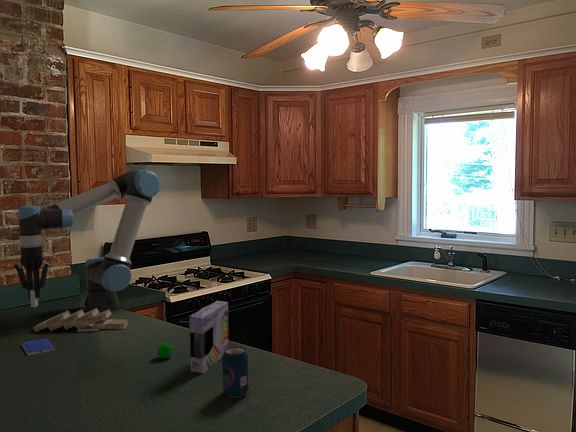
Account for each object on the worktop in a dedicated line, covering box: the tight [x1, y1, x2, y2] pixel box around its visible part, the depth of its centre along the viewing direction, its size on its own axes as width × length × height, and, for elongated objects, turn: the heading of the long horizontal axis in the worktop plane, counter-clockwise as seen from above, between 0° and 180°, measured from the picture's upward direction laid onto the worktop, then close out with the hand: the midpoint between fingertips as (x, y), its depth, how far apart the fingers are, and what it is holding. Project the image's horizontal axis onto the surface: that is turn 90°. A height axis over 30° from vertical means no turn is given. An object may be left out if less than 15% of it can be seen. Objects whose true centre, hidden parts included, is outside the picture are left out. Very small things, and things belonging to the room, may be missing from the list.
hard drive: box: [21, 338, 55, 356], centre depth 174 cm, size 2×8×12 cm
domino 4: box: [75, 309, 112, 330], centre depth 196 cm, size 2×6×12 cm
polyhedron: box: [156, 342, 174, 360], centre depth 163 cm, size 5×5×5 cm
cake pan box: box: [188, 300, 229, 374], centre depth 157 cm, size 19×5×18 cm, turn 161°
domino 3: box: [62, 308, 100, 331], centre depth 196 cm, size 2×6×12 cm
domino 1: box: [33, 310, 71, 333], centre depth 195 cm, size 2×6×12 cm
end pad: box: [76, 324, 101, 332], centre depth 196 cm, size 8×8×1 cm
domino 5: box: [92, 318, 129, 330], centre depth 197 cm, size 2×6×12 cm
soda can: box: [221, 346, 250, 399], centre depth 135 cm, size 7×7×12 cm
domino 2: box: [48, 309, 85, 332], centre depth 196 cm, size 2×6×12 cm
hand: (34, 306), depth 194 cm, fingers closed
